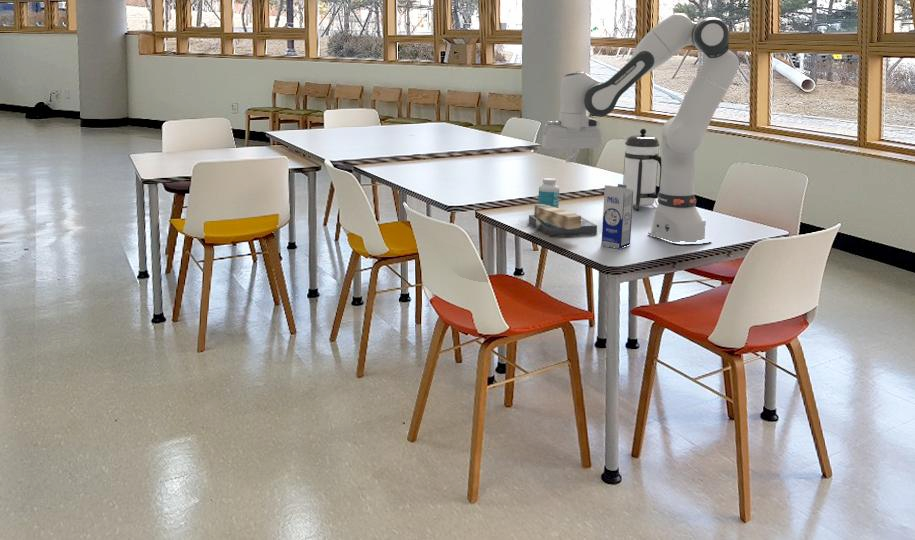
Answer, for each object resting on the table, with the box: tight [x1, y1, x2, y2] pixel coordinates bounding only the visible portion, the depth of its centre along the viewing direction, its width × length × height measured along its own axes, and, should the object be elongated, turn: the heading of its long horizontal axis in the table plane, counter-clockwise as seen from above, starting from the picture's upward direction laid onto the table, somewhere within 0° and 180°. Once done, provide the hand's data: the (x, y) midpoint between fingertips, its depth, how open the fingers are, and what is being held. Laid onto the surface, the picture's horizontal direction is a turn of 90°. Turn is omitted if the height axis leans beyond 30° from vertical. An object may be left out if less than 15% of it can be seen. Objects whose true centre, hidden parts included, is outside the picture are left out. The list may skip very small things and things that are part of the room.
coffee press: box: [622, 128, 661, 212], centre depth 360 cm, size 17×16×30 cm
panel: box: [528, 212, 598, 238], centre depth 327 cm, size 20×18×4 cm
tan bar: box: [533, 203, 582, 229], centre depth 317 cm, size 21×5×4 cm, turn 30°
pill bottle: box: [538, 177, 560, 209], centre depth 347 cm, size 8×7×14 cm
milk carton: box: [600, 183, 634, 249], centre depth 304 cm, size 7×7×20 cm
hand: (570, 162), depth 322 cm, fingers closed
